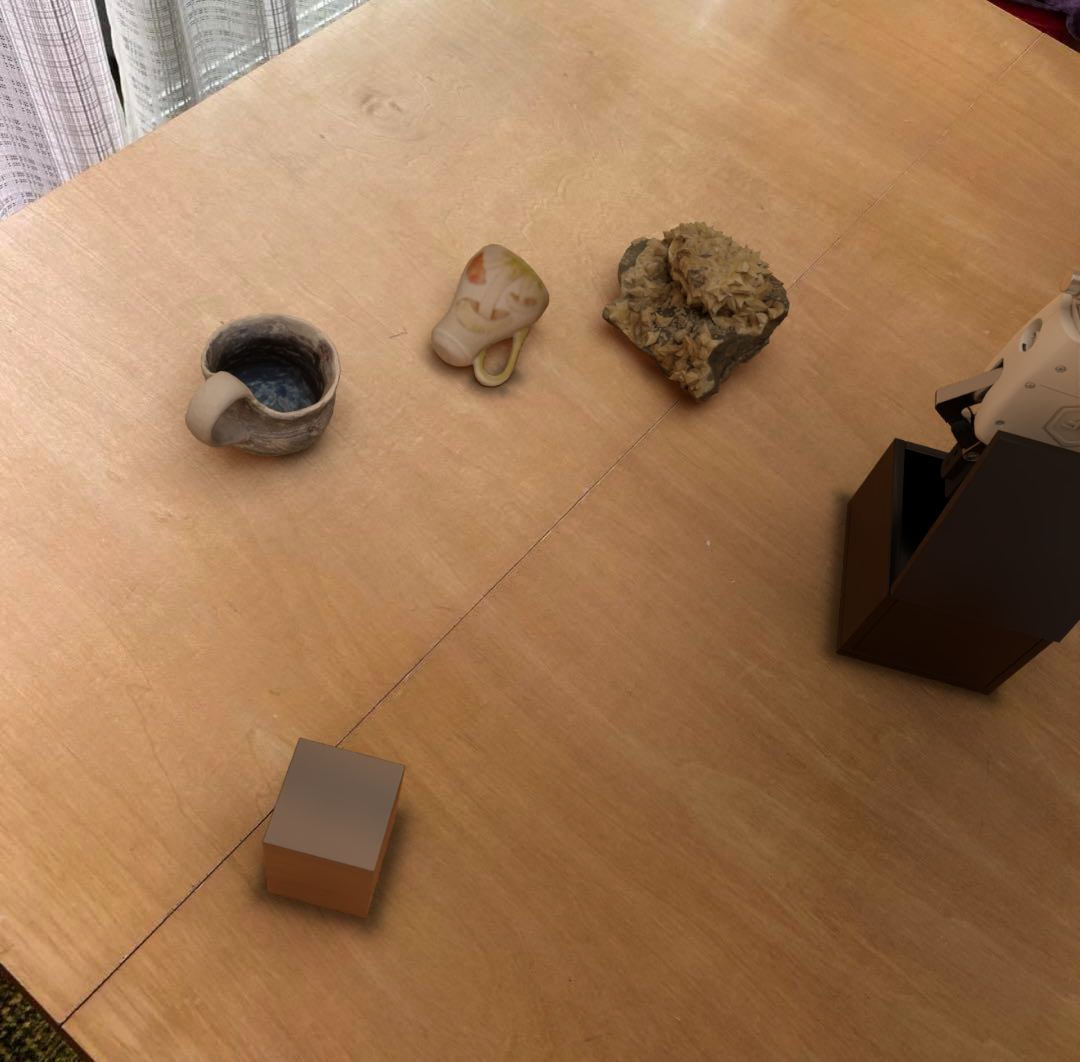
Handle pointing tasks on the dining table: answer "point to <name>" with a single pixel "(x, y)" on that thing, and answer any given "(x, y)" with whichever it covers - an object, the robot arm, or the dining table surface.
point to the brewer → (877, 560)
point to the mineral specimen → (696, 305)
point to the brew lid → (1006, 542)
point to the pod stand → (331, 827)
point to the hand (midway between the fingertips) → (989, 491)
